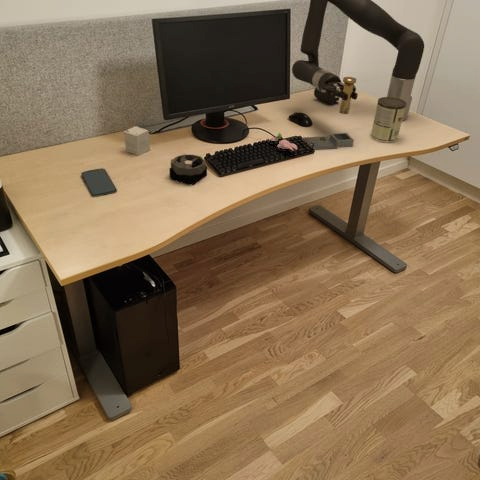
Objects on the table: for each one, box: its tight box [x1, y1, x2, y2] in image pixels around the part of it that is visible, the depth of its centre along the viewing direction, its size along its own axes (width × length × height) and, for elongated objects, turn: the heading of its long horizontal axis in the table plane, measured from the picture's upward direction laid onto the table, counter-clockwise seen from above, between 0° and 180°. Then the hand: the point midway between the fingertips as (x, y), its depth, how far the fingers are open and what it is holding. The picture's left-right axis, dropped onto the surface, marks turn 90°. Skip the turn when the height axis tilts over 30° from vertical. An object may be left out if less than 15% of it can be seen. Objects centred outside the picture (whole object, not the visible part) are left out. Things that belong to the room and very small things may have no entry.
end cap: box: [313, 87, 341, 106], centre depth 207 cm, size 10×7×7 cm
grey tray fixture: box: [302, 132, 355, 151], centre depth 170 cm, size 19×9×2 cm, turn 102°
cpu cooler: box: [169, 153, 208, 186], centre depth 145 cm, size 10×6×10 cm
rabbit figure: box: [266, 132, 298, 152], centre depth 164 cm, size 6×6×15 cm
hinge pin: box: [339, 76, 357, 115], centre depth 163 cm, size 4×4×12 cm
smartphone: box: [80, 167, 118, 198], centre depth 140 cm, size 8×2×15 cm
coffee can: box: [370, 96, 407, 144], centre depth 174 cm, size 10×10×14 cm
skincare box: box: [123, 125, 151, 156], centre depth 158 cm, size 6×6×7 cm
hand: (351, 97), depth 160 cm, fingers closed on hinge pin, 3 cm apart
